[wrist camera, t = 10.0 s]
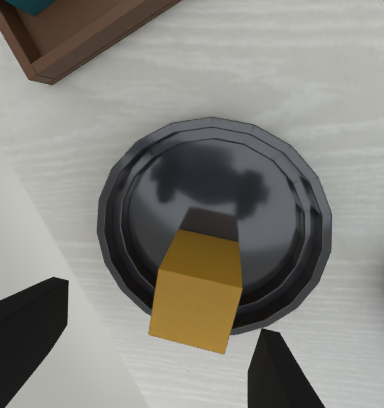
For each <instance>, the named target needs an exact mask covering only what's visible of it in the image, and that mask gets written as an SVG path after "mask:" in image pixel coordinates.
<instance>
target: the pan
mask: <svg viewBox="0 0 384 408" xmlns="http://www.w3.org/2000/svg"><path fill="white" fill-rule="evenodd" d="M178 229H181V230H186V231H190V232H195V233H199V234H204V235H208V236H213V237H218V238H222V239H227V240H231V241H236V242H239V248H240V262H241V275H242V288H243V290H242V293H241V297H240V300H239V304H238V307H237V311H236V315H235V318H234V322H233V325H232V329H231V332H230V335H238V334H242V333H245V332H249V331H253V330H256V329H260V328H263V327H267V326H269V325H271V324H273V323H274V322H276V321H277V320H279V319H281V318H282V317H284V316H285V315H287V314H289V313H290V312H292V311H294V310H295V309H296V308H298V307H299V305H300V304H301V303H302V302H303V301H304V300H305V298H306V297H307V296H308V295H309V294H310V293H311V291H312V290H313V289H314V288H315V287H316V286H317V284H318V282H319V281H320V278H321V276H322V273H323V271H324V268H325V266H326V263H327V260H328V258H329V255H330V253H331V242H332V214H331V210H330V207H329V204H328V202H327V199H326V196H325V193H324V191H323V188H322V185H321V183H320V180H319V178H318V176H317V175H316V173H315V172H314V171H313V170H312V169H311V168H310V166H309V165H308V164H307V163H306V162H305V161H304V160H303V158H302V157H301V156H300V155H299V154H298V153H297V151H296V150H295V149H294V148H293V147H292V146H291V145H290V144H288V143H286V142H284V141H283V140H281V139H279V138H277V137H276V136H274V135H272V134H270V133H268V132H267V131H265V130H263V129H261V128H260V127H258V126H256V125H253V124H249V123H244V122H238V121H233V120H227V119H222V118H216V117H207V118H200V119H194V120H187V121H181V122H174V123H170V124H168V125H166V126H164V127H163V128H161V129H159V130H157V131H155V132H153V133H151V134H149V135H147V136H145V137H144V138H142V139H140V140H138V141H137V142H135V144H134V145H133V146H132V147H131V148H130V149H129V150H128V151H127V152H126V153H125V154H124V156H123V157H122V158H121V159H120V160H119V161H118V162H117V163H116V164H115V165H114V166H113V168H112V169H111V172H110V174H109V176H108V179H107V181H106V184H105V186H104V188H103V191H102V193H101V195H100V198H99V205H98V220H97V235H98V239H99V243H100V247H101V251H102V255H103V259H104V262H105V264H106V266H107V268H108V269H109V271H110V273H111V274H112V276H113V278H114V279H115V281H116V283H117V284H118V286H119V288H120V289H121V290H122V292H124V293H125V294H126V295H127V296H128V297H129V298H130V299H131V300H132V301H133V302H134V303H135V304H136V305H137V306H138V307H139V308H141V309H142V310H143V311H144V312H145V313H147V314H149V315H151V314H152V307H153V301H154V295H155V288H156V282H157V275H158V269H159V267H160V265H161V263H162V261H163V259H164V257H165V255H166V253H167V251H168V249H169V247H170V245H171V243H172V241H173V239H174V237H175V235H176V233H177V231H178Z"/></svg>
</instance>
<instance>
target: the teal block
mask: <svg viewBox="0 0 384 408" xmlns="http://www.w3.org/2000/svg"><path fill="white" fill-rule="evenodd" d="M5 1H7V2H8V3H10V4H12V5H14V6H16V7H18V8H19V9H21V10H23V11H25V12H27V13H28V14H30V15H32V16H36V15H37V14H38V13H40V12H41V11H42V10H44V9H45V8H46V7H48V6H49V5H50V4H52V3H53V2H54V1H56V0H5Z"/></svg>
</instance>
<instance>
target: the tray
mask: <svg viewBox="0 0 384 408" xmlns="http://www.w3.org/2000/svg"><path fill="white" fill-rule="evenodd" d="M179 1H181V0H56V1H54V2H53V3H52V4H50V5H49V6H48V7H46V8H45V9H44V10H42V11H41V12H40V13H38V14H37V15H36V16H32V15H30V14H28V13H27V12H25V11H23V10H21V9H19V8H18V7H16V6H14V5H12V4H10V3H8V2H7V1H5V0H0V31H1V33H2V34H3V36H4V38H5V40H6V41H7V43H8V45H9V46H10V48H11V50H12V52H13V53H14V55H15V57H16V59H17V60H18V62H19V64H20V66H21V67H22V69H23V71H24V73H25V74H26V76H27V78H28V79H29V80H31V81H36V82H40V83H45V84H49V85H52V84H54V83H55V82H57V81H58V80H60V79H62V78H63V77H65V76H66V75H68V74H69V73H71V72H72V71H74V70H75V69H77V68H78V67H80V66H81V65H83V64H84V63H86V62H88V61H89V60H91V59H92V58H94V57H95V56H97V55H98V54H100V53H101V52H103V51H104V50H106V49H107V48H109V47H110V46H112V45H114V44H115V43H117V42H118V41H120V40H121V39H123V38H124V37H126V36H127V35H129V34H130V33H132V32H133V31H135V30H136V29H138V28H140V27H141V26H143V25H144V24H146V23H147V22H149V21H150V20H152V19H153V18H155V17H156V16H158V15H159V14H161V13H162V12H164V11H165V10H167V9H169V8H170V7H172V6H173V5H175V4H176V3H178V2H179Z"/></svg>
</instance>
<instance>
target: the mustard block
mask: <svg viewBox="0 0 384 408" xmlns="http://www.w3.org/2000/svg"><path fill="white" fill-rule="evenodd" d="M242 290H243V288H242V275H241V262H240V248H239V242H236V241H231V240H227V239H222V238H218V237H213V236H208V235H204V234H199V233H195V232H190V231H186V230H181V229H178V231H177V233H176V235H175V237H174V239H173V241H172V243H171V245H170V247H169V249H168V251H167V253H166V255H165V257H164V259H163V261H162V263H161V265H160V267H159V269H158V275H157V282H156V288H155V295H154V301H153V307H152V314H151V320H150V327H149V335H151V336H155V337H159V338H162V339H166V340H170V341H174V342H178V343H182V344H186V345H190V346H194V347H197V348H201V349H205V350H209V351H213V352H217V353H221V354H224V353H225V350H226V347H227V343H228V339H229V336H230V332H231V329H232V325H233V322H234V318H235V315H236V311H237V307H238V304H239V300H240V297H241V293H242Z"/></svg>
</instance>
